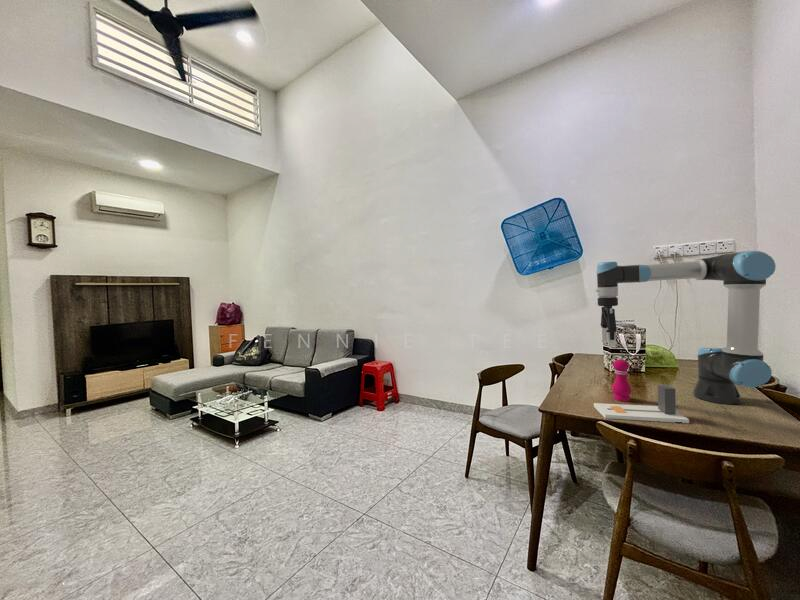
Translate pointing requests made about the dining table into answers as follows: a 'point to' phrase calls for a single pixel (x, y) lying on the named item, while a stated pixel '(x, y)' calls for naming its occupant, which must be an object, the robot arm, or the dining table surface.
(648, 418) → the plate
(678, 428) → the dining table surface
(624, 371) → the pepper mill
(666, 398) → the fader knob
